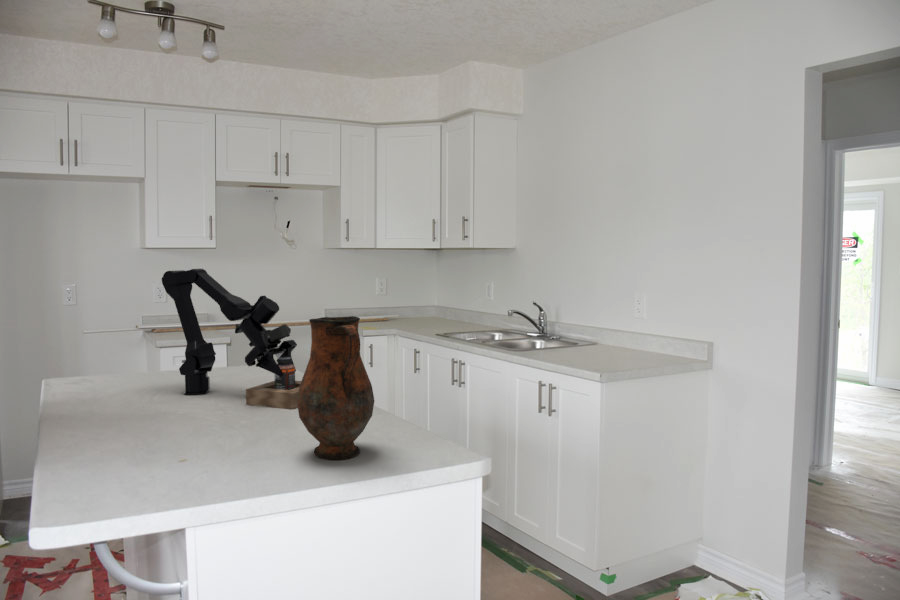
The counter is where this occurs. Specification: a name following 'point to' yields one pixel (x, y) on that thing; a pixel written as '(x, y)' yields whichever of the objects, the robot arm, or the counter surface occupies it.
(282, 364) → the supplement bottle
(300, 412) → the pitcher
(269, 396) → the walnut well
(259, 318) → the robot arm
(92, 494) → the counter surface
